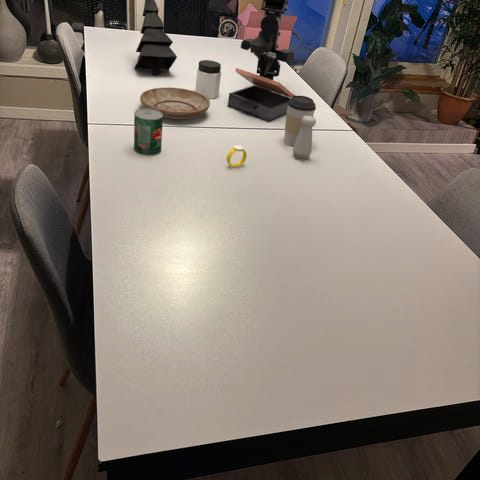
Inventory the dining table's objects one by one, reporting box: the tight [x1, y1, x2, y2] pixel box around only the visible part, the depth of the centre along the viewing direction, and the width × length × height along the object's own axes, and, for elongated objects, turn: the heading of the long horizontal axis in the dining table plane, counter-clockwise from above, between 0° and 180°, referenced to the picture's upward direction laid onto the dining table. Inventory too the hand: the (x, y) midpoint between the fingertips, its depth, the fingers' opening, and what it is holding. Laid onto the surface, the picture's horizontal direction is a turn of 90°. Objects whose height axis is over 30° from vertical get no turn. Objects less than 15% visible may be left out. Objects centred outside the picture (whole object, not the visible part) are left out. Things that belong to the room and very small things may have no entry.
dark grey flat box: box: [227, 84, 291, 123], centre depth 184 cm, size 18×18×5 cm
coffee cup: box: [283, 94, 317, 148], centre depth 160 cm, size 9×9×15 cm
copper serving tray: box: [234, 67, 295, 98], centre depth 181 cm, size 16×18×1 cm
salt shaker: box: [292, 116, 317, 161], centre depth 152 cm, size 6×6×13 cm
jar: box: [194, 59, 222, 100], centre depth 187 cm, size 9×8×12 cm
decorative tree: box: [133, 0, 178, 76], centre depth 201 cm, size 15×15×35 cm
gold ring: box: [226, 144, 248, 168], centre depth 143 cm, size 6×3×6 cm, turn 123°
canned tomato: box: [133, 107, 164, 157], centre depth 143 cm, size 8×8×11 cm
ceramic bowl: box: [139, 86, 211, 120], centre depth 171 cm, size 23×24×5 cm
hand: (263, 75), depth 177 cm, fingers closed
